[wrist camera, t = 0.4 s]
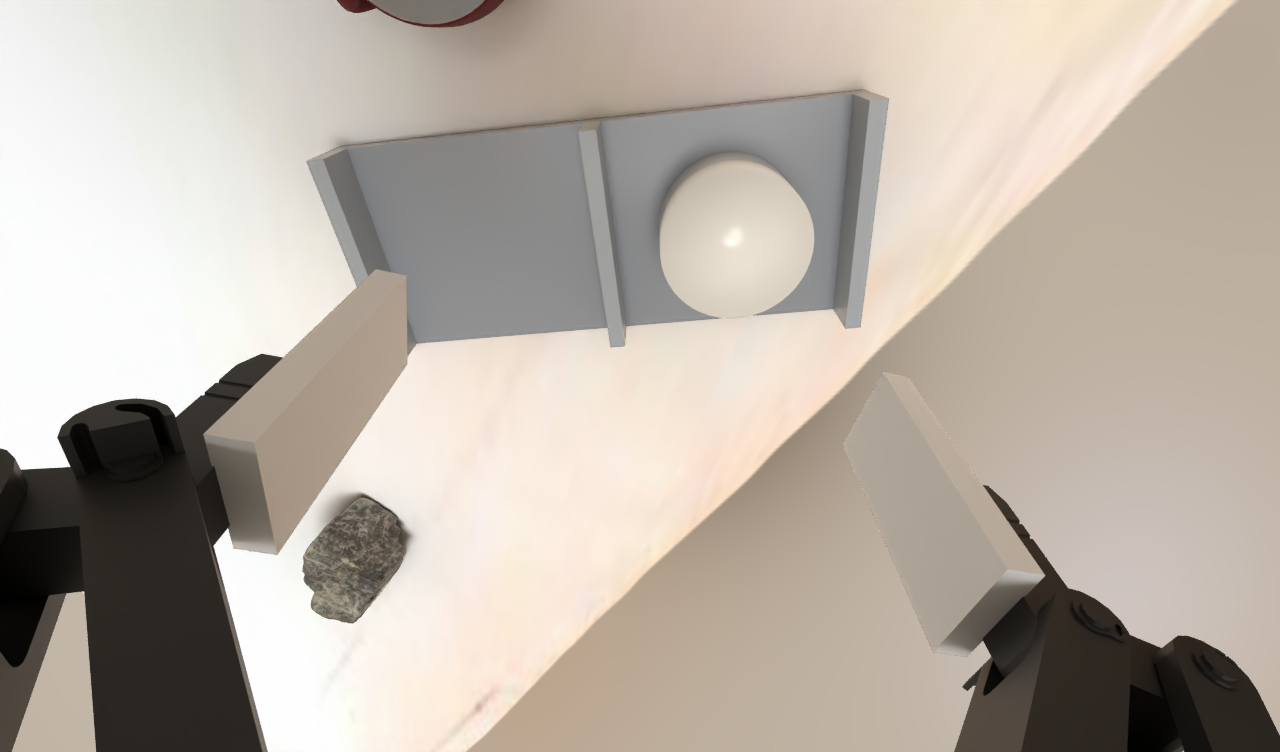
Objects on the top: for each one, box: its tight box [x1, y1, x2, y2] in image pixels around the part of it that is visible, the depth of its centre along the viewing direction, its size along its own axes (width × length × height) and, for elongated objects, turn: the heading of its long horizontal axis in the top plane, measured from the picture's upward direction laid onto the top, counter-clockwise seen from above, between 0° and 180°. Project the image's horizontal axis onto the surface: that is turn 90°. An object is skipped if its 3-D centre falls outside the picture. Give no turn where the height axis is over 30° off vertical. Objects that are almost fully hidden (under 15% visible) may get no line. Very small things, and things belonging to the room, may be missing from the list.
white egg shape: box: [659, 152, 814, 318], centre depth 35 cm, size 9×9×5 cm
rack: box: [307, 90, 889, 357], centre depth 37 cm, size 14×33×4 cm, turn 96°
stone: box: [303, 497, 406, 623], centre depth 55 cm, size 14×7×10 cm, turn 168°
